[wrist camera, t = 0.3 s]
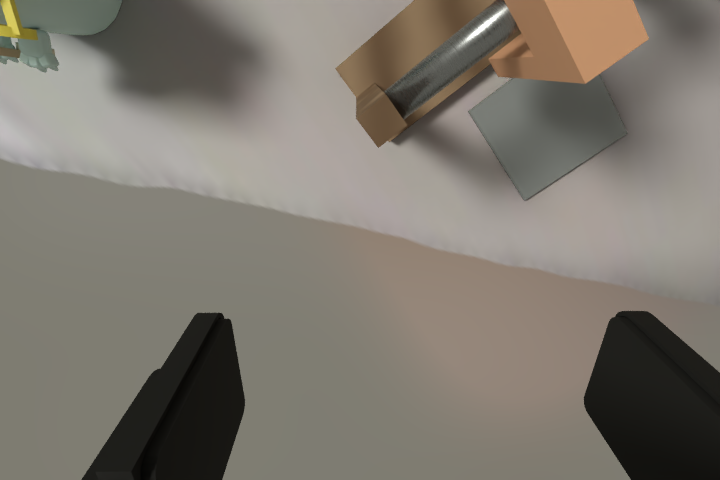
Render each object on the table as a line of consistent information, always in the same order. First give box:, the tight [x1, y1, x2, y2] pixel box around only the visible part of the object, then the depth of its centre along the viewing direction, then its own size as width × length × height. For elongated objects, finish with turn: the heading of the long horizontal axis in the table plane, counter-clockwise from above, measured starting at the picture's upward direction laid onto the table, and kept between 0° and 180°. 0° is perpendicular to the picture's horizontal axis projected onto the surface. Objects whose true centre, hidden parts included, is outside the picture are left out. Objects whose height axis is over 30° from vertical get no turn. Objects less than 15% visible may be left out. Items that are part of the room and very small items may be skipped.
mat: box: [468, 74, 627, 200], centre depth 37 cm, size 11×11×1 cm
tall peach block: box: [488, 0, 649, 84], centre depth 22 cm, size 3×8×12 cm, turn 38°
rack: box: [336, 0, 521, 148], centre depth 26 cm, size 22×8×16 cm, turn 128°
